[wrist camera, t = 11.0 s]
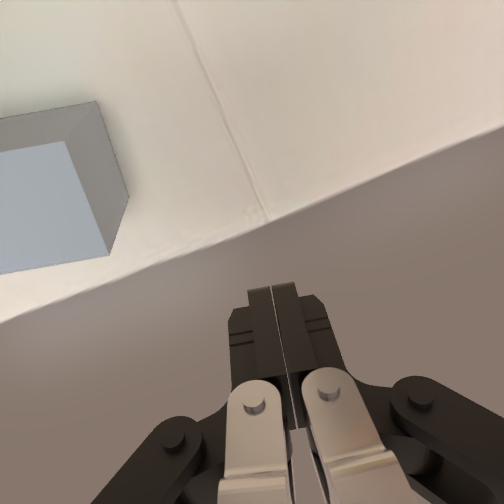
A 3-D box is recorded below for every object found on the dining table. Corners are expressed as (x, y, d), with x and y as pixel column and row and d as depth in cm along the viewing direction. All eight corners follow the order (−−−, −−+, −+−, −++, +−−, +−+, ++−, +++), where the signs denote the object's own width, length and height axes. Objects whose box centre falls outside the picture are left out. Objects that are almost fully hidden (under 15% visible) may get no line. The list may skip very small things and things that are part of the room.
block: (-38, 125, 29) (-112, 172, 22) (97, 100, 29) (63, 140, 22) (10, 217, 33) (-41, 282, 26) (129, 196, 33) (109, 255, 26)
